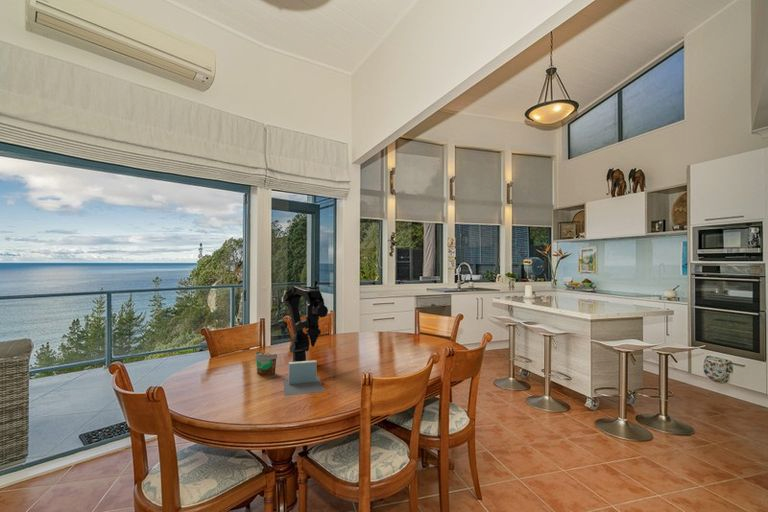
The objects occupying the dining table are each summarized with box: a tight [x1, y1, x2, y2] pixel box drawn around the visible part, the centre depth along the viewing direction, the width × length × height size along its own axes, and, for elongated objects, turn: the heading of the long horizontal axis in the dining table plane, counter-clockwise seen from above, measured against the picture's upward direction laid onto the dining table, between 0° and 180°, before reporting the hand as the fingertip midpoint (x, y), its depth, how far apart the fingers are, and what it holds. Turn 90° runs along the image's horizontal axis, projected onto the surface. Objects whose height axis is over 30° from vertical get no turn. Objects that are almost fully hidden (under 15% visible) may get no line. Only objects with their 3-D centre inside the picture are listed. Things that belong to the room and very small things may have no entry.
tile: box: [288, 359, 318, 384], centre depth 155 cm, size 3×12×9 cm, turn 106°
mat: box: [283, 375, 325, 397], centre depth 152 cm, size 20×16×1 cm
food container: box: [254, 350, 278, 376], centre depth 167 cm, size 12×6×10 cm, turn 62°
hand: (312, 345), depth 175 cm, fingers open, 2 cm apart
